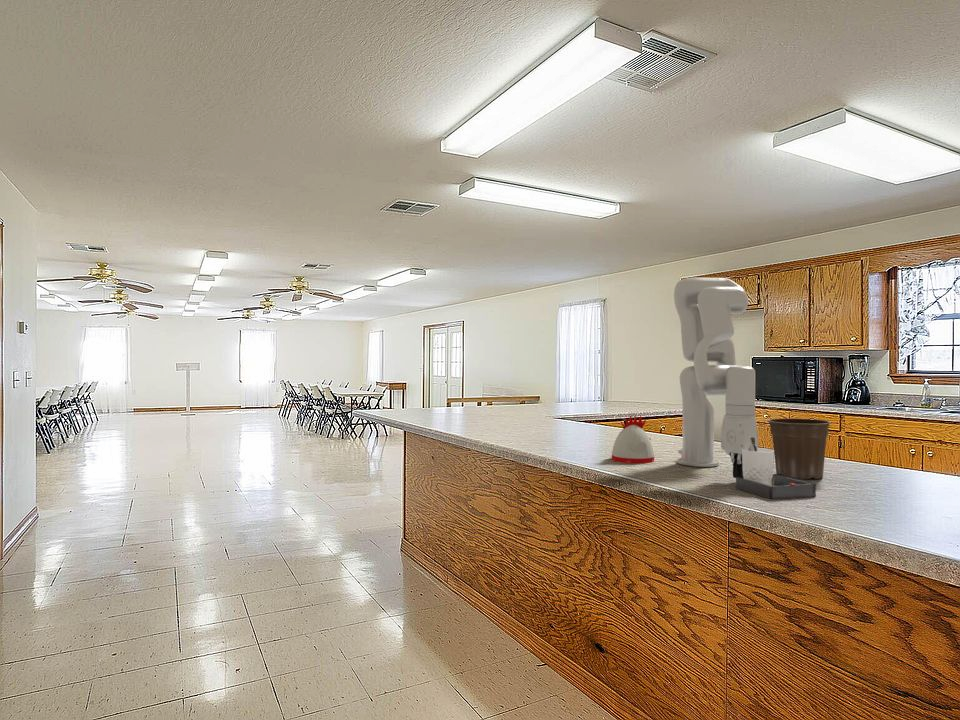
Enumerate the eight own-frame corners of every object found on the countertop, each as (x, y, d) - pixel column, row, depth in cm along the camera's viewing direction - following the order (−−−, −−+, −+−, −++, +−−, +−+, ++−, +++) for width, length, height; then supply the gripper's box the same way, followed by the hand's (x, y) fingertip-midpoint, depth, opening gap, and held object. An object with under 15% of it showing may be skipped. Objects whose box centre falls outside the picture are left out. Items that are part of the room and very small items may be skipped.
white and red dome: (659, 463, 201) (659, 417, 201) (616, 463, 201) (616, 417, 201) (648, 456, 215) (648, 413, 215) (608, 456, 215) (608, 413, 215)
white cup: (755, 491, 159) (755, 452, 159) (734, 485, 167) (735, 448, 167) (780, 489, 161) (781, 451, 161) (759, 483, 169) (760, 447, 169)
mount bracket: (735, 488, 162) (736, 475, 162) (776, 485, 166) (777, 473, 166) (772, 499, 150) (772, 485, 150) (816, 496, 154) (816, 482, 154)
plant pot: (766, 478, 177) (766, 421, 177) (769, 469, 191) (769, 416, 191) (831, 483, 169) (831, 424, 169) (829, 474, 184) (829, 419, 184)
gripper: (711, 409, 177) (710, 473, 177) (747, 414, 162) (746, 484, 162) (733, 408, 179) (733, 472, 179) (771, 413, 164) (770, 482, 165)
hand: (739, 477), depth 171 cm, fingers closed
